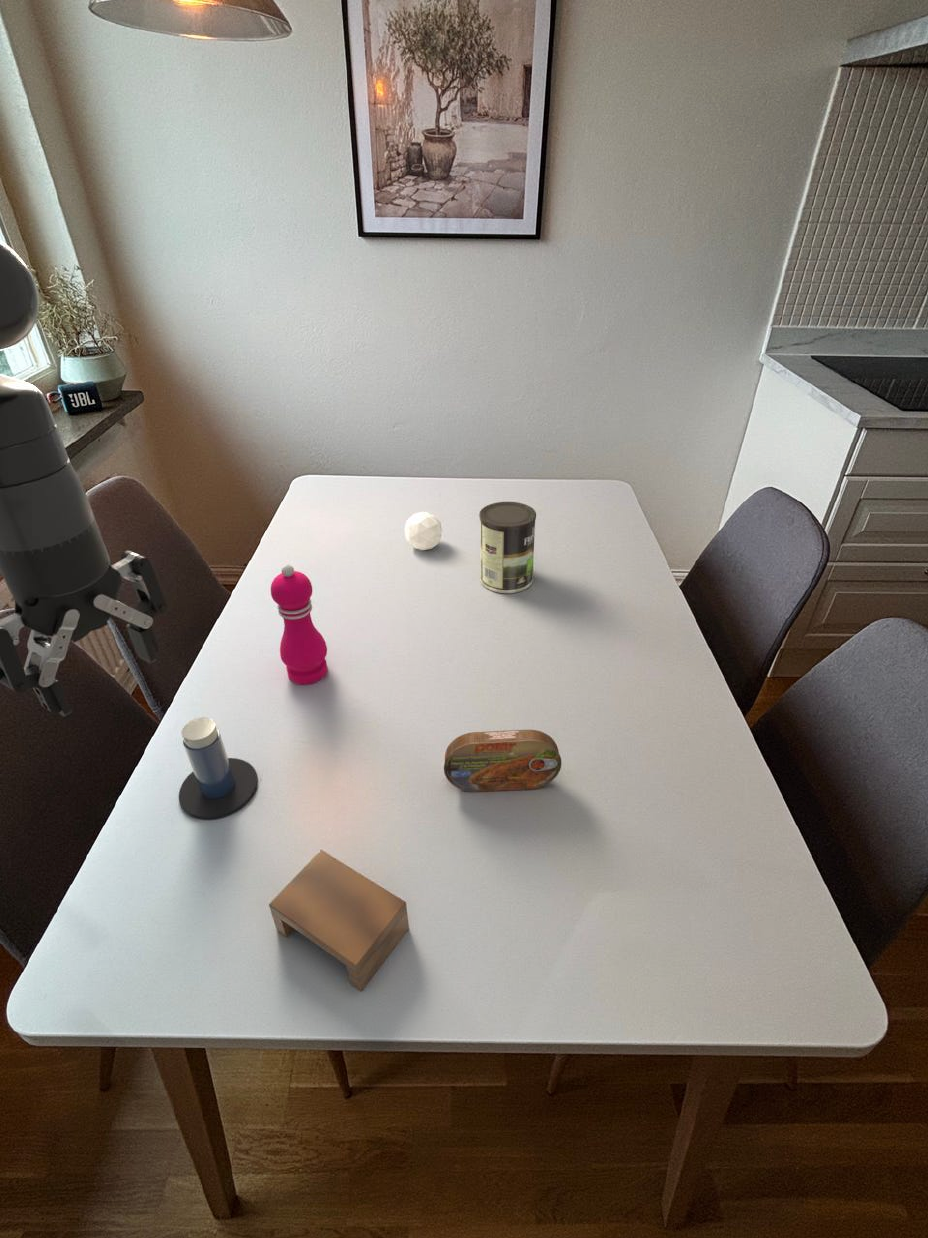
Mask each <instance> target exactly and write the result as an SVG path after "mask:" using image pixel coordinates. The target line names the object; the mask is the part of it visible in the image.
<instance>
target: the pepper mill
mask: <svg viewBox="0 0 928 1238" xmlns="http://www.w3.org/2000/svg"><path fill="white" fill-rule="evenodd" d="M312 595H313V585H312V582H311V580H310V578H309V577H308V576H307V575H305V574H304V573H303V572H300V571H297V570H295V569H294V567H293V566H292V565H291V564H284V565H282V568H281V573H279V574H277V575H276V576H275V577H274V578H273V580H272V582H271V583H270V597H271V598H272V600H273V602H275V603H276V604H277V605H276V606H277V607H276V608H277V613H278V615H279V617H281V618H282V619H283V625H284V626H283V634H282V636H281V639H280V643H279V644H280V646H279V656H280V659H281V662H283V664H284V665H285V666H286V673H287V677H288V679H289V680H290V681H291V682H292V683H294V684H298V685H312V684H314V683H318V682H319V681H321V680H322V679H323V678H324V677H326V675H327V673H328V665H327V660H326V657H327V654H328V647H327V643H326V640H325V638H324V637H323V635H322V634H321V632H319V630H318V629H317V627H316V626H315V624H314V622H313V619H312V616H311V612H312V610H313V604H312V600H311V597H312Z"/></svg>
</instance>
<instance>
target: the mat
mask: <svg viewBox="0 0 928 1238" xmlns="http://www.w3.org/2000/svg"><path fill="white" fill-rule="evenodd" d="M228 760H229V763H230V766H231V769H232V773H233V776H234V779H235V785H234V788H233V789H232V790H231V792H229V793H228V794H227V795H225V796H223V797H221V798H217V799H209V798H206V797H204V796H203V795H202V794H201V791H200V788H199V786H198V783H197V780H196V777H195V775H194V772H193V771H192V772H191V773H190V774H188V775H187V777H185V779H184V780H183V781H182V784H181V785H180V788H179V792H178V801H179V805H180V806H181V809H182V810H183V811H184V812H185V814H187V815H189V816H190V817H192V818H193V819H197V820H203V821H211V820H218V819H222V818H226V817H228V816H231V815H232V814H234V813H237V812H239V810H241V809H243V808H244V807H245V806H246V805H248V803H250V801H251V800H252V799H253V797H254V796H255V794H256V792H257V789H258V786H259V778H258V773H257V771H256V768H255V767H254V766H253V765H252V764H250V763H249V762H248V761H247V760H243V759H240V758H236V757H228Z"/></svg>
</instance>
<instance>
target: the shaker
mask: <svg viewBox="0 0 928 1238" xmlns="http://www.w3.org/2000/svg"><path fill="white" fill-rule="evenodd" d="M181 736H182V744H183V747H184V750H185V752H186V755H187V758H188V761H189V764H190V767H191V769H192V772H194V775H195V777H196V780H197V783H198V786H199V788H200V791H201V794H202V795H203V796H204V797H206V798H209V799H217V798H221V797H223V796H225V795H227V794H228V793H229V792H231V790H232V789H233V788H234V785H235V779H234V776H233V773H232V769H231V766H230V763H229V760H228V758H229V756H228V754H227V751H226V747H225V745H224V741H223V738H222V734H221V732H220V730H219V728H218V727H217V725H216V722H215V720H213V719H212V718H211V717H197V718H193V719H192V720H190V721H188V722H187V723H185V725H184V726H183V727H182V729H181Z"/></svg>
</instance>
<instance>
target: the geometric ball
mask: <svg viewBox="0 0 928 1238" xmlns="http://www.w3.org/2000/svg"><path fill="white" fill-rule="evenodd" d="M404 536H405V541H406V542H408V543H409V545H410V546H411V547H413V548H414V549H417V550H420V551H426V550H427V551H428V550H432V549H434V548H435V547H436V546H437V545H438V544H439V543H440V541H441V539H442V536H443V529H442V523H441V521H440V520H439V519H438V518H437V517H436V516H435V515H433V514H431V513H428V512H426V511H421V512H416V513H414V514H412V515H411V516H410V517H409V518H408V519H407V520H406V522H405V526H404Z"/></svg>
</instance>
